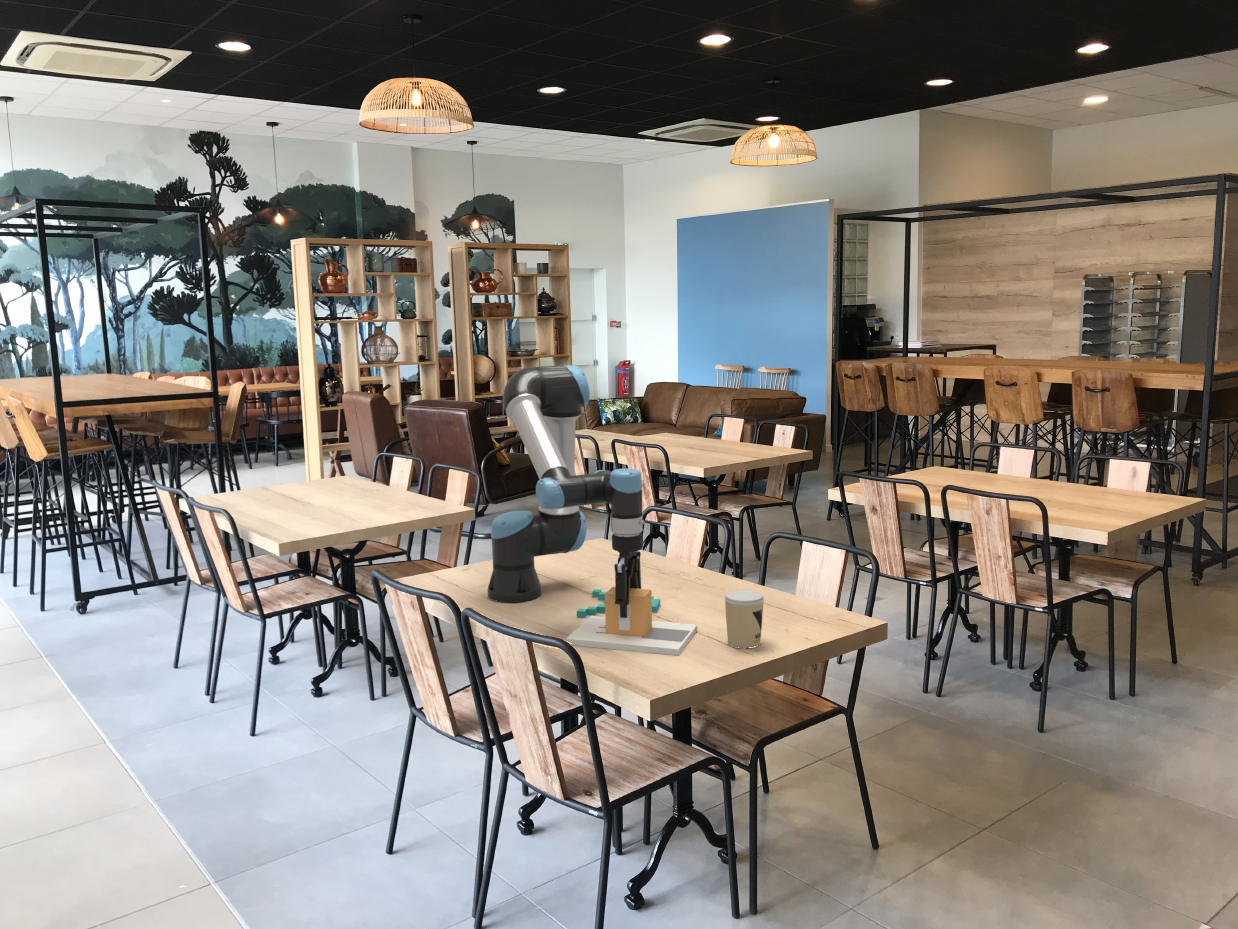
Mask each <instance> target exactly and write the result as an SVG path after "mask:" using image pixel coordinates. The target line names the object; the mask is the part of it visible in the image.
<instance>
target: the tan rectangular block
mask: <svg viewBox="0 0 1238 929" xmlns="http://www.w3.org/2000/svg"><path fill="white" fill-rule="evenodd" d="M605 592H606V593H605V603H604V604H605V613H604V614H605V616H604V617H605V619H606V633H610V634H621V635H632V636H643V637H645V636H646V635H647V634H648V633H649V632H650V630H651V629H652V621H653V613H652V596H653V594H652V593H653V592H652V589H648V588H641V589H637V588H630V592H629V604H630V614H631V630H630V631H629V630H619V604H615V586H612V587H611V588H610V589H609V590H607V591H605Z"/></svg>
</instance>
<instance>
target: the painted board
mask: <svg viewBox="0 0 1238 929" xmlns="http://www.w3.org/2000/svg"><path fill="white" fill-rule="evenodd" d="M697 632H698V624H691V623H679V622H672V621H671V622H669V621H657V620H652V629H651V630H650V632H649V633H648V634H647V635H646V636H645V637H643V636H632V635H621V634H610V633H606V619H605V616H600V615H595V616H591V615H590V616H589V617H588V618H587V619H586V620H585V621H584V622H583V623H582V624H581V625H579V626H578V627H577V628H576V629H575V630H574V631H572V632H571V634H569V635H568V636H567V637H566V638H565V642H566V641H568V642H570V643H572V644H573V645H572V646H577V647H589V648H597V649H598V648H599V649H610V650H618V651H619V650H621V651H627V652H629V651H631V652H640V653H648V654H657V655H658V654H660V655H668V656H669V655H670V656H680V655H681V653H682V651H683V650H684V649H685V648H686V646H687V645H688V643H689V642H690V641H691V640H692V638H693V637H694V636H695V635H696V633H697Z"/></svg>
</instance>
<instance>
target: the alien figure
mask: <svg viewBox="0 0 1238 929" xmlns="http://www.w3.org/2000/svg"><path fill="white" fill-rule="evenodd" d="M606 592H607V591H602V589H601V588H600V589H597V588H595V589H594V588H593V589H592V591H591V597H592V598H595V599H598V600H597V601H604V604H603V603H599V604H597V606H595V605H594V606H591V605H589V606H588V607H587V608H577V610H576V618H578V619H580V618H581V619H586V618H587V616H590V617H591V616H597V614H605V593H606ZM660 608H661V598H655V597H654V596H653V595H652V614H657V613H658V610H659V609H660Z"/></svg>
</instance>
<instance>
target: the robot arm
mask: <svg viewBox="0 0 1238 929" xmlns="http://www.w3.org/2000/svg"><path fill="white" fill-rule="evenodd" d="M589 385H590V384H589V382H588V379H587V376H586V374H585V373H584V371H583V370H582V368H581V367H579V366H577V365H573V364H571V365H567V364H560V365H559V364H557V365H546V366H545V365H544V366H542V365H541V366H527V367H523V368H521V369H518V370H517V371H516V372H515V373H513V374H511V376H510V378H509V379H508V380H507V382H506V384H505V385H504V386H505V387H504V389H503V393H502V404H503V405H502V406H503V409H504V411H505V415H506V416H507V418H508V419H509V420H510V421H512V422H514V425H515V427H516V430H517V432H518V434H519V436H520V439H521V440H522V443H523V445H524V448H525V450H526V452H527V454H528V456H529V457H528V458H530V461H531V463H532V465H533V467H534V469H535V472H536V474H537V476H538V479H539V480H537V482H536V485H535V496H536V500H537V503H538V505H539V506H538V511H537V512H538V513H537V514H533V512H531V511H530V510H526V509H525V510H513V511H508V512H505V513H502V514H499V515H497V516H496V517H495V518H493V520H492V521H491V531H490V538H491V551H492V554H491V555H492V572H491V576H490V579H489V583H488V586H487V597H488V599H490V598H491V599H493V600H492V601H494V600H497V601H496V602H498V601H501V603H521V602H528V601H532V600H536V599H537V598H540V597H541V596H542V584H541V581H540V578H539V576H538V574H537V570H536V568H535V567H536V566H535V557H539V556H540V557H541V556H549V555H555V554H567V553H570V552H575V551H578V550H579V549H580V548H582V546H583V545H584V543H585V540H586V537H587V523H586V516H585V514H584V512H583V511H582V510H580V507H579V506H590V505H597V504H609V505H610V510H611V513H610V514H611V515H610V518H611V520H610V522H611V523H610V526H611V528H610V529H611V532H612V535H611V548H612V550H613V551H615V552H618V553H619V554H618V558H617V563H614V573H615V574H614V575H615V576H614V580H615V581H614V582H615V585H614V587H615V604H619V630H629V631H630V630H631V614H630V604H629V592H630V588H637V589H642V575H641V573H642V572H641V555H642V553H641V550H642V549H643V548H644V534H643V533H642V532H643V525H645V520H644V519H643V480H642V473H641V471H640V470H639V469H636V468H617V469H613V470H612V471H610V470H608V469H607V470H606V469H599V470H596V471H594V472H593V473H586V474H577V475H576V474H575V469H576V468H575V467H576V466H575V464H576V461H575V460H576V458H575V457H576V421H577V420H578V419H579V418H580V417H581V416H582V408H584V407H587V406H588V405H589V402H590V396H591V395H590V394H591V392H590V386H589ZM491 599H490V600H491Z"/></svg>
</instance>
